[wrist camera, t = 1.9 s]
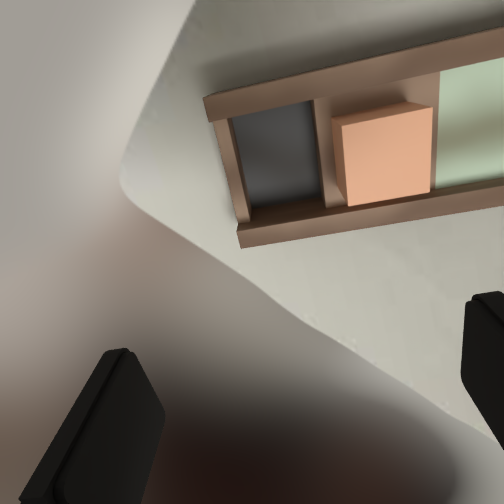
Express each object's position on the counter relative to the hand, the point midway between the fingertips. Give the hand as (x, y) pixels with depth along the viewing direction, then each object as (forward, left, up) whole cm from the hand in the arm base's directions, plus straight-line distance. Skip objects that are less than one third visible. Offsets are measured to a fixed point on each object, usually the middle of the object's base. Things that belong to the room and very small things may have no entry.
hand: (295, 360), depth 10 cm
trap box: (-1, +11, -21) cm, 23 cm away
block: (-1, +7, -18) cm, 19 cm away
